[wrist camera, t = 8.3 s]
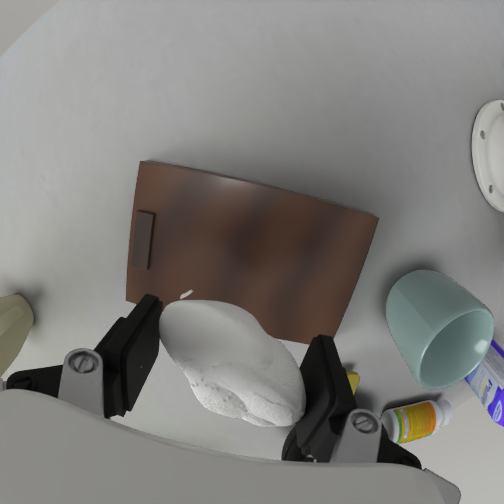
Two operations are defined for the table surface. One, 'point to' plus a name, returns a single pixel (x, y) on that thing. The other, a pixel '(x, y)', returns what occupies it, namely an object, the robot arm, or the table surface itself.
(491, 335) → the cup
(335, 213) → the bread board
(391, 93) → the table surface
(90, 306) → the table surface
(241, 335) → the dumpling
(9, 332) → the mug
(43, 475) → the robot arm
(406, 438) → the supplement bottle
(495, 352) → the bottle
